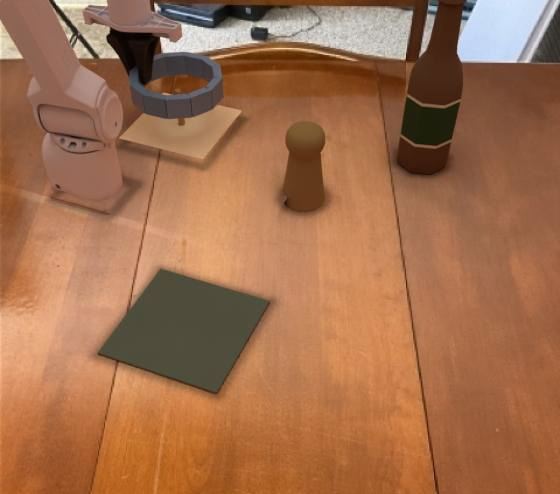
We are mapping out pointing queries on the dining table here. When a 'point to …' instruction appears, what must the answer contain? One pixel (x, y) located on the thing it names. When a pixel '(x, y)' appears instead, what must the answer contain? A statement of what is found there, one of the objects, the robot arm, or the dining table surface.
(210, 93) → the ring
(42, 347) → the dining table surface
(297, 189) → the brown pawn
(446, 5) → the beer bottle
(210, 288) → the mat
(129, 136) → the stand
